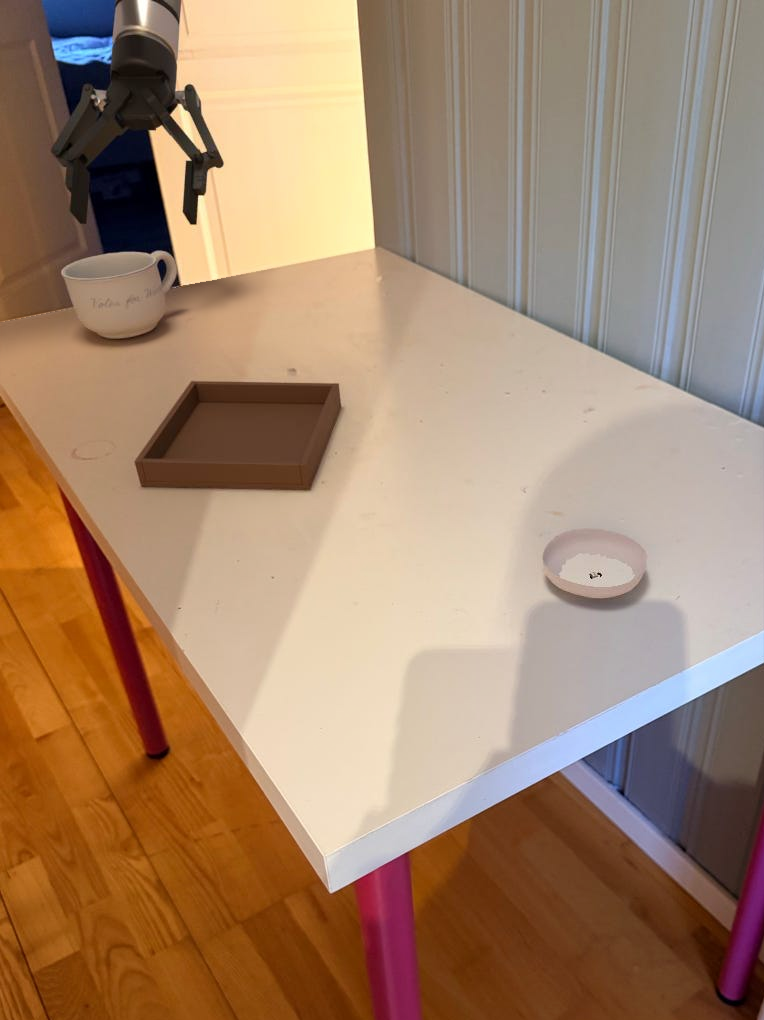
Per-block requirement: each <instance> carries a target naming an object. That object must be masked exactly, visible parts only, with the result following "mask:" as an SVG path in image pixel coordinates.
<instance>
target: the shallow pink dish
mask: <svg viewBox="0 0 764 1020" xmlns="http://www.w3.org/2000/svg"><path fill="white" fill-rule="evenodd" d="M579 553H582V554H586V553H589V555H597V554H600V556H601V557H603V556H606V558H610V559H617V560H619V561H621V562H622V563H624V564H625V563H626V564H627V566H630V567H631V568H632V571H633V574H632V575H634V574H635V576H634V578H633V579H632V580H631V581H630V582H628V583H625V584H622V585H618V586H612V587H593V586H586V585H581V584H577V583H573V582H570V581H567V580H565V579H562V578H560V575H559V573H560V572H561V571H562V565H565V564H566V561H567V559H569V560H570V559H571V558H573V557H575V556H576V555H577V554H579ZM647 562H648V556H647V552H646V550H645V549H644V547H643V546H642V545H641V544H640V543H639V542H637V541H636V540H634V539H633V538H630V537H629V536H626V535H624V534H621V533H618V532H616V531H615V532H614V531H610V530H605V529H599V528H577V529H571V530H567V531H565V532H561V533H560V534H558V535H556V536H555V537H553V538H552V539H551V540H550V541H549V542H548V543H547V544H546V546H545V548H544V550H543V552H542V568H543V571H544V574H545V576H546V577H547V578H548V580H549V581H550V582H551V583H552V584H553V585H554V586H556V587H557V588H559V589H560V590H563V591H565V592H567V593H569V594H572V595H573V594H574V595H576V596H580V597H585V598H591V599H607V598H608V599H609V598H614V597H617V596H622V595H623V594H626V593H628V592H630V591H631V590H633V589H635V587H636V586H637V585H638V584H639V582H640V581H641V580H642V578H643V576H644V575H645V571H646V568H647V564H648V563H647ZM589 575H590V578H591V579H593V578H596V577H598V575H600V577H601V576H602V574H601V573H599V572H598V573H596V572H592V573H590V574H589Z"/></svg>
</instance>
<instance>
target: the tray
mask: <svg viewBox="0 0 764 1020" xmlns="http://www.w3.org/2000/svg"><path fill="white" fill-rule="evenodd" d="M341 407H342V401H341V392H340V384H339V382H337V383H336V382H335V383H332V382H331V383H329V382H275V381H274V382H273V381H272V382H269V381H268V382H267V381H262V382H261V381H210V380H209V381H208V380H207V381H205V380H202V381H201V380H200V381H199V380H191V381H190V382H189V383H188V385H187V386H186V388H185V389H184V390H183V392H182V393H181V394H180V396H179V398H178V399H177V401H176V402H175V403H174V405H173V406H172V407H171V409H170V410H169V412H168V413H167V415H166V416H165V417H164V419H163V420H162V422H161V423H160V424H159V426H158V427H157V429H155V432H154V433H153V434H152V436H151V437H150V438H149V440H148V441H147V443H146V444H145V446H144V447H143V449H142V450H141V451H140V453H138V455H137V457H136V458H135V460H134V466H135V469H136V473H137V476H138V480H139V484H140V486H141V487H156V488H157V487H158V488H159V487H162V488H205V489H206V488H212V489H220V488H221V489H252V490H253V489H254V490H255V489H258V490H260V489H262V490H263V489H264V490H306V491H307V490H311V488H312V485H313V482H314V480H315V476H316V474H317V471H318V468H319V466H320V463H321V460H322V458H323V455H324V453H325V450H326V447H327V444H328V442H329V439H330V436H331V434H332V431H333V429H334V427H335V423H336V421H337V418H338V416H339V413H340V410H341Z"/></svg>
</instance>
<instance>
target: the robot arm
mask: <svg viewBox="0 0 764 1020" xmlns="http://www.w3.org/2000/svg"><path fill="white" fill-rule="evenodd" d="M181 10H182V0H115V1H114V21H113V29H112V47H111V56H110V57H111V60H110V71H109V72H110V84H109V86H108V87H107V89H106V90H103V89H95V88H94V86H93V85H92V84H91V83H85V84H84V85H83V87H82V91H81V96H80V100H79V102H78V103H77V105H76V107H75V109H74V110H73V112H72V113H71V115H70V117H69V118H68V120H67V122H66V123H65V125H64V126H63V128H62V130H61V132H60V133H59V135H58V137H57V138H56V140H55V142H54V143H53V145H52V147H50V148H51V149H50V152H51V154H52V155H53V157H54V158H55V160H57V161H58V163H59V164H60V165H61V166H62V167H64V168H65V169H66V170H65V179H64V180H65V182H64V185H65V188H66V189H67V190H68V191H69V193H70V203H69V212H70V213H71V214H72V216H73V217H74V218H75V219H76V221H77V222H78V223H79V224H80V225H86V224H87V220H88V209H89V197H90V195H89V194H90V182H91V173H90V171H89V170H88V168H87V167H88V166H89V165H90V164H91V163H92V162H93V161H94V160H95V159H96V158H97V157H98V156H99V155H100V154H101V153H102V152H103V151H104V149H106V148H107V147H108V145H110V143H112V141H113V140H114V139H115V138H116V137H117V136H122V135H123V134H124V133H126V132H127V130H128V129H130V131H140V130H147V131H157V129H158V128H160V127H162V128H163V129H164V130H165V132H167V134H168V135H169V136H171V138H172V139H173V140H174V142H175V143H176V144H177V145H178V146H179V147H180V149H181V150H182V151H183V152H184V153H185V155H186V156H187V158H189V160H185V167H184V168H185V169H184V183H183V199H182V214H183V216H184V217H185V219H186V220H187V222H188V223H189V225H190V226H196V225H197V224H198V207H199V196H203V197H204V196H205V195H206V193H207V186H208V185H207V184H208V172H209V171H210V169H213V168H217V169H221V168H223V167H224V164H225V162H224V159H223V158H222V156H221V153H220V151H219V149H218V147H217V145H216V142H215V140H214V137H213V136H212V133H211V131H210V130H209V128H208V127H209V126H208V125H207V123H206V121H205V119H204V116H203V113H202V101H201V99H200V96H199V93H198V92H197V90H196V88H195V86H194V85H193V84H191V83H188V84H186V85H185V86H184V89H183V90H176V89H177V75H178V74H177V73H178V57H179V41H180V24H181V13H182V11H181ZM107 104H108V105H107ZM179 105H181V107H182V109H183V111H185V112H187V113H189V115H190V118H191V119H192V121H193V122H192V123H193V124H194V126H195V128H196V130H197V132H198V135H199V137H200V138H201V140H202V144H203V145H204V147H205V150H206V151H203V152H202V151H201V150H200V148H198V147H197V146H196V144H195V143H194V142H193V141H192V140H191V138H190V137H189V136H188V135H187V134H186V133H185V131H184V130H183V128H182V127H181V126H180V125H179V124H178V122H176V120H175V119H174V118H173V117H172V114H173V112H175V110H176V109H177V108H178V106H179ZM100 113H101V116H100ZM99 116H100V117H99ZM116 116H117V117H118V118H119V120H117V119H116Z"/></svg>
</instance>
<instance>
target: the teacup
mask: <svg viewBox="0 0 764 1020" xmlns="http://www.w3.org/2000/svg"><path fill="white" fill-rule="evenodd" d="M160 260H163V262H164V263H165V267H166V270H165V271H166V272H165V274H164V277H163V279H162V280H161V276H160V275H161V274H160V271H159V268H158V263H159V261H160ZM60 272H61V273H60V274H61V276H62V278H63V280H64V282H65V286H66V289H67V292H68V295H69V298H70V300H71V304H72V306H73V309H74V312H75V314H76V316H77V318H78V320H79V321H80V323H81V324H82V325H83V326H84V327H85V328H86V329H88V330H90V331H92V332H94V333H95V334H97V335H98V336H100V337H102V338H106V339H116V340H117V339H118V340H119V339H128V338H132V337H134V338H135V337H137V336H141V335H144V334H146V333H150V332H151V331H152V330H154V329H155V328H156V327H157V326H158V323H159V322H160V320H161V319H162V318H163V316H164V314H165V312H166V307H167V306H166V304H167V303H166V296H165V295H166V294H167V293H168V291H170V289H171V287H172V286H173V284H174V282H175V280H176V278H177V275H178V267H177V263H176V260H175V258H174V257H173V256H172V254H170V253H169V252H167V251H164V250H155V251H152V252H151V253H147V252H143V251H142V252H141V251H119V252H108V253H104V254H99V255H98V254H97V255H93V256H88V257H85V258H82V259H79V260H76V261H73V262H71V263H69V264H67V265H65V266H64V267H63V268H62V269H61V271H60Z"/></svg>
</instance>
